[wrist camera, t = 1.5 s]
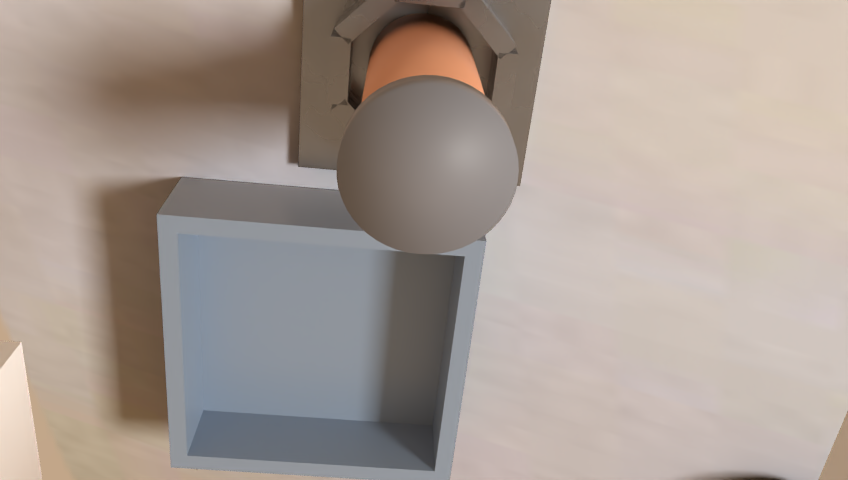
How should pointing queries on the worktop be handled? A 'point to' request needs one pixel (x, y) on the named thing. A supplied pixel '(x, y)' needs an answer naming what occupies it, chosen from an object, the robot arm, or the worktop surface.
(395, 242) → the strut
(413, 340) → the bin
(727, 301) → the worktop surface
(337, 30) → the socket base
